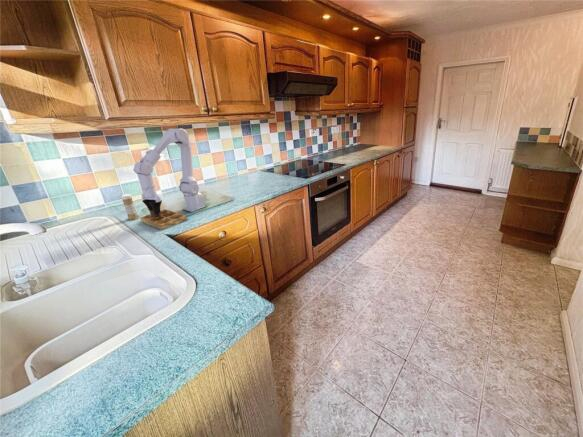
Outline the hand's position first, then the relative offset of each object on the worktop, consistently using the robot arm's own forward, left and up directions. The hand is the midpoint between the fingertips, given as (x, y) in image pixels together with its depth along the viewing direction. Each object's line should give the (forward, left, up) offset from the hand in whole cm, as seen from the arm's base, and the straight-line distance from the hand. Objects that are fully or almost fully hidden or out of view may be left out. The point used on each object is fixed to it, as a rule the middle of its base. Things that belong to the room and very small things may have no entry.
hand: (155, 213), depth 130 cm
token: (0, 0, -1) cm, 1 cm away
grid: (-3, 0, -5) cm, 6 cm away
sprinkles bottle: (+4, -19, -6) cm, 20 cm away
